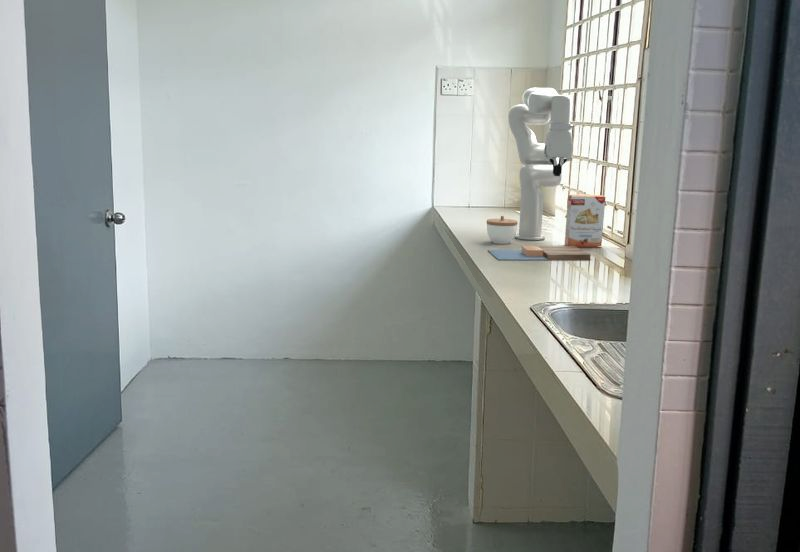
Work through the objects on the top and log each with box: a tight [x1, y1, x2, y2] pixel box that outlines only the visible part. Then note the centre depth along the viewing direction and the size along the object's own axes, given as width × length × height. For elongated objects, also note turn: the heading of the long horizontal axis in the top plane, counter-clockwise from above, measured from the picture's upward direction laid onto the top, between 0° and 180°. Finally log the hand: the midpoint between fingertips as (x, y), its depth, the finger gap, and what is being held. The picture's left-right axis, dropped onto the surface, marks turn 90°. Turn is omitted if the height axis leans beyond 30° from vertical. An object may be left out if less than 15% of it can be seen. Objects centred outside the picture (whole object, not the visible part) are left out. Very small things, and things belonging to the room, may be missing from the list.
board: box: [537, 245, 591, 261], centre depth 304 cm, size 18×16×2 cm
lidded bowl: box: [486, 215, 518, 245], centre depth 331 cm, size 13×13×11 cm
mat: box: [487, 249, 549, 261], centre depth 303 cm, size 20×18×1 cm
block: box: [521, 245, 543, 257], centre depth 303 cm, size 9×6×2 cm, turn 5°
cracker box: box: [564, 194, 606, 248], centre depth 324 cm, size 14×6×21 cm, turn 92°
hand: (556, 175), depth 311 cm, fingers closed
